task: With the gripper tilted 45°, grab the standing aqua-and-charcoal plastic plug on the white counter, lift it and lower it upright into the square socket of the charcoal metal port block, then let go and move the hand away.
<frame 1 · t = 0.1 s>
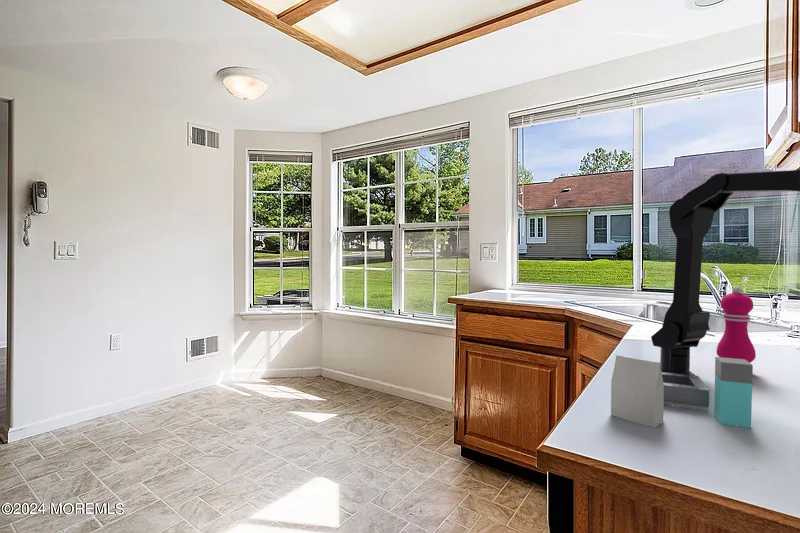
tea packet: (636, 419, 71), on the counter
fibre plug: (731, 421, 69), on the counter
pepper mill: (735, 372, 100), on the counter
port block: (671, 398, 81), on the counter
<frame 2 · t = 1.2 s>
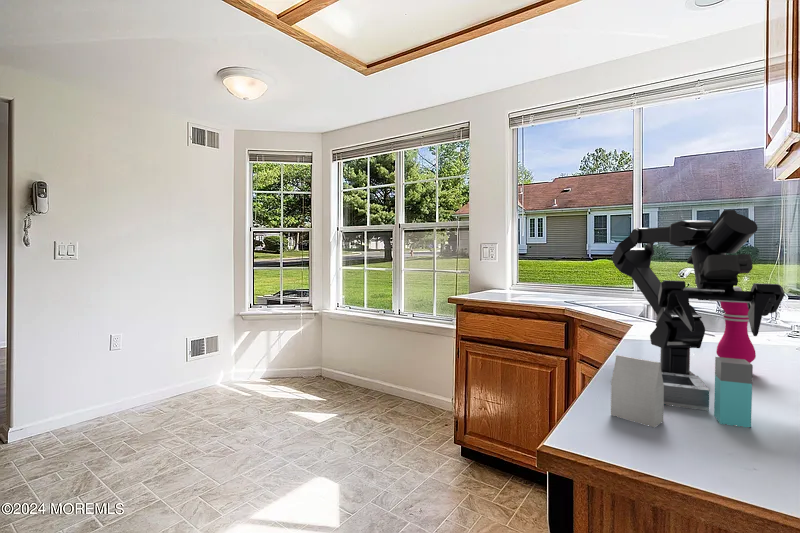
hand: (723, 332, 76), 13 cm above the counter, tool tilted 45°, fingers open, 9 cm apart
nothing on the counter moved.
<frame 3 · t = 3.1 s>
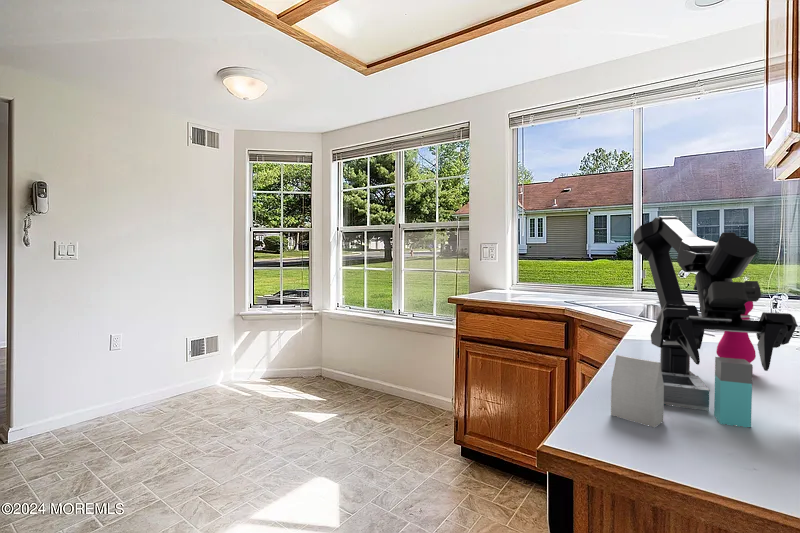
hand: (731, 366, 70), 9 cm above the counter, tool tilted 45°, fingers open, 9 cm apart
nothing on the counter moved.
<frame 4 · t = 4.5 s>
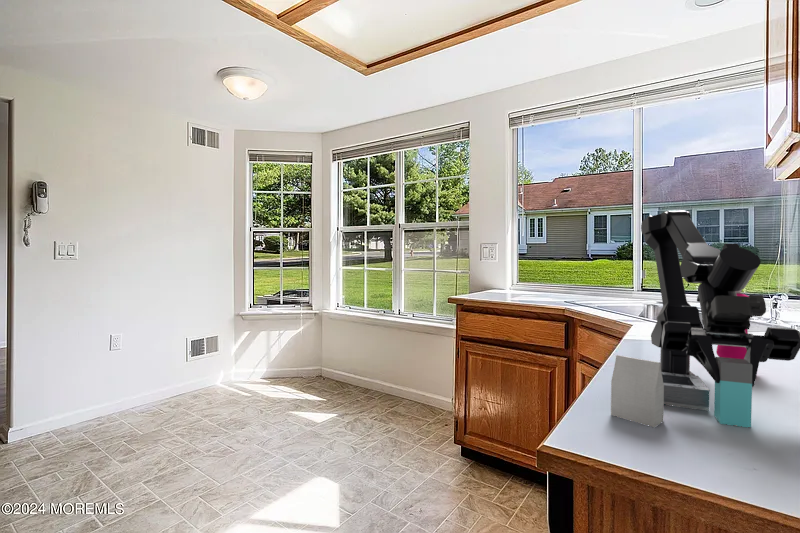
hand: (735, 383, 68), 7 cm above the counter, tool tilted 45°, fingers closed on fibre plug, 4 cm apart
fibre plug: (731, 421, 69), on the counter, touching gripper
everything else where it was.
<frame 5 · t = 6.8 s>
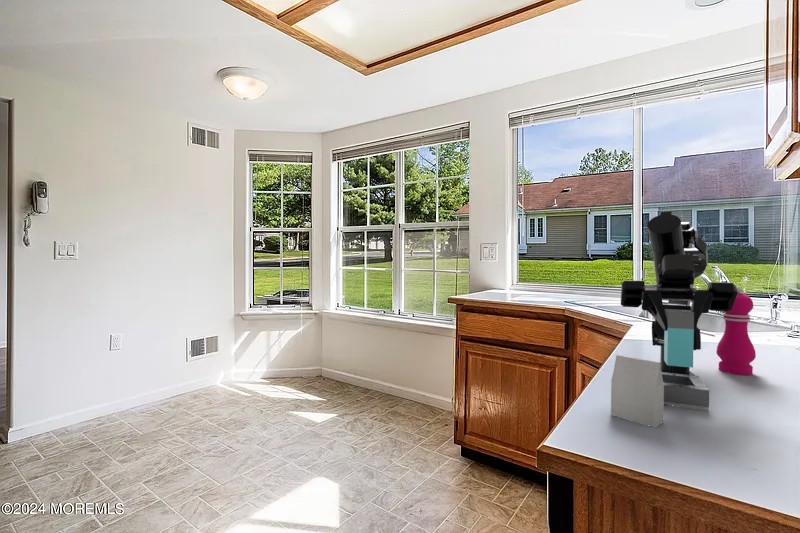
hand: (679, 330, 78), 13 cm above the counter, tool tilted 45°, fingers closed on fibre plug, 4 cm apart
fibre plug: (678, 363, 80), point 7 cm above the counter, touching gripper
everything else where it was.
when the fingers open (8 cm above the counter, at t = 8.9 s): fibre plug drops 1 cm, resting on port block.
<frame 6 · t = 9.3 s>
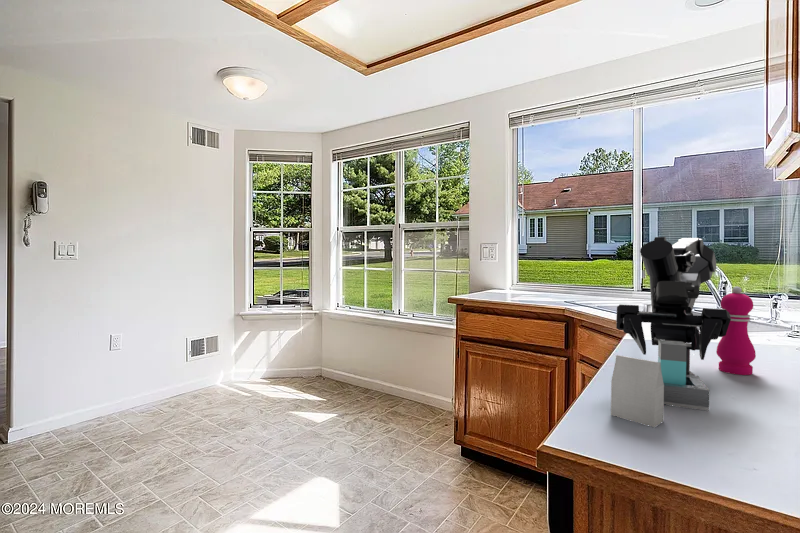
hand: (673, 355, 79), 8 cm above the counter, tool tilted 45°, fingers open, 9 cm apart
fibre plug: (671, 394, 81), point 1 cm above the counter, touching port block
everything else where it was.
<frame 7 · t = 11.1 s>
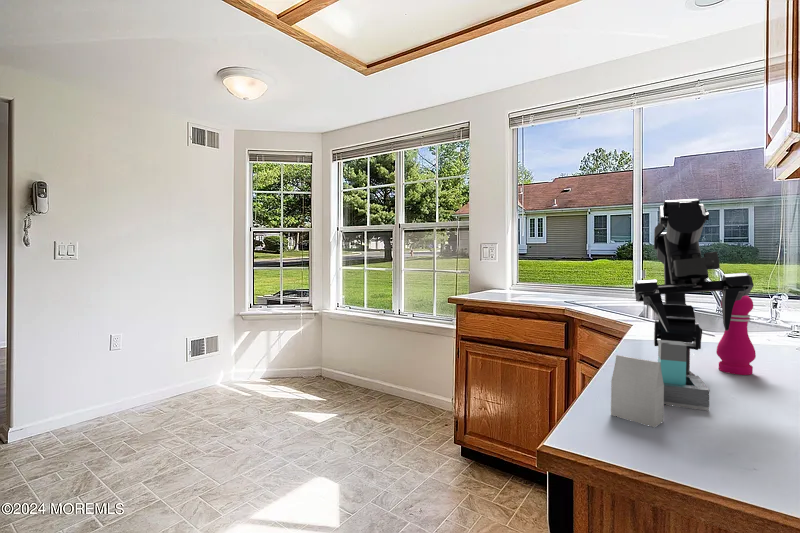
hand: (696, 330, 80), 13 cm above the counter, tool tilted 25°, fingers open, 9 cm apart
nothing on the counter moved.
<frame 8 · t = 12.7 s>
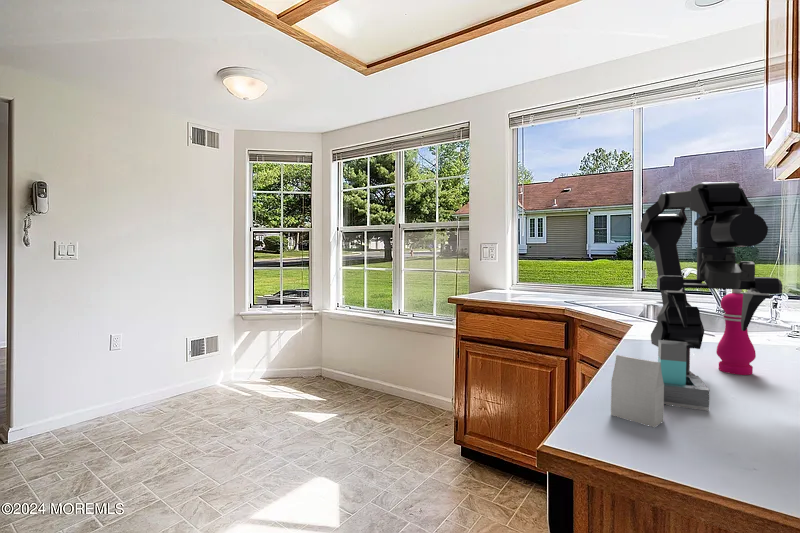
hand: (713, 328, 82), 13 cm above the counter, tool pointing down, fingers open, 9 cm apart
nothing on the counter moved.
at the end: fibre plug 0.0 cm off-centre on the port block, point 0.6 cm above the port block's base; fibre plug tilted 0°; the gripper is holding nothing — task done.
